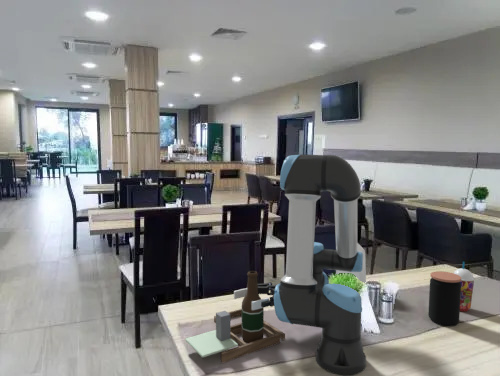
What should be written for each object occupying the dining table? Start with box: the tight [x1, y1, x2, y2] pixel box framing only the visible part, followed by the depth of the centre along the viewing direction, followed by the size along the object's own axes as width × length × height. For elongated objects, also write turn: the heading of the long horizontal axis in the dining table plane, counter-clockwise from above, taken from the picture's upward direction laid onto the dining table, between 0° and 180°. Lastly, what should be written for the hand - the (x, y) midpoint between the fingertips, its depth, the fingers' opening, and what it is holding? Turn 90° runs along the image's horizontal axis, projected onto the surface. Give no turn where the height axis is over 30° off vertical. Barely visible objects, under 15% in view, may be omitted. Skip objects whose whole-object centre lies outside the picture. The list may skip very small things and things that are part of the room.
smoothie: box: [453, 261, 476, 312], centre depth 158 cm, size 8×8×20 cm
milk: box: [335, 242, 367, 283], centre depth 178 cm, size 12×12×26 cm
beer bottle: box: [241, 270, 265, 344], centre depth 132 cm, size 8×8×24 cm
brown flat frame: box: [213, 308, 286, 364], centre depth 136 cm, size 27×26×3 cm
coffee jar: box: [427, 270, 461, 327], centre depth 147 cm, size 11×11×18 cm
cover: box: [184, 310, 239, 358], centre depth 123 cm, size 13×13×9 cm
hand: (242, 300), depth 130 cm, fingers open, 11 cm apart
